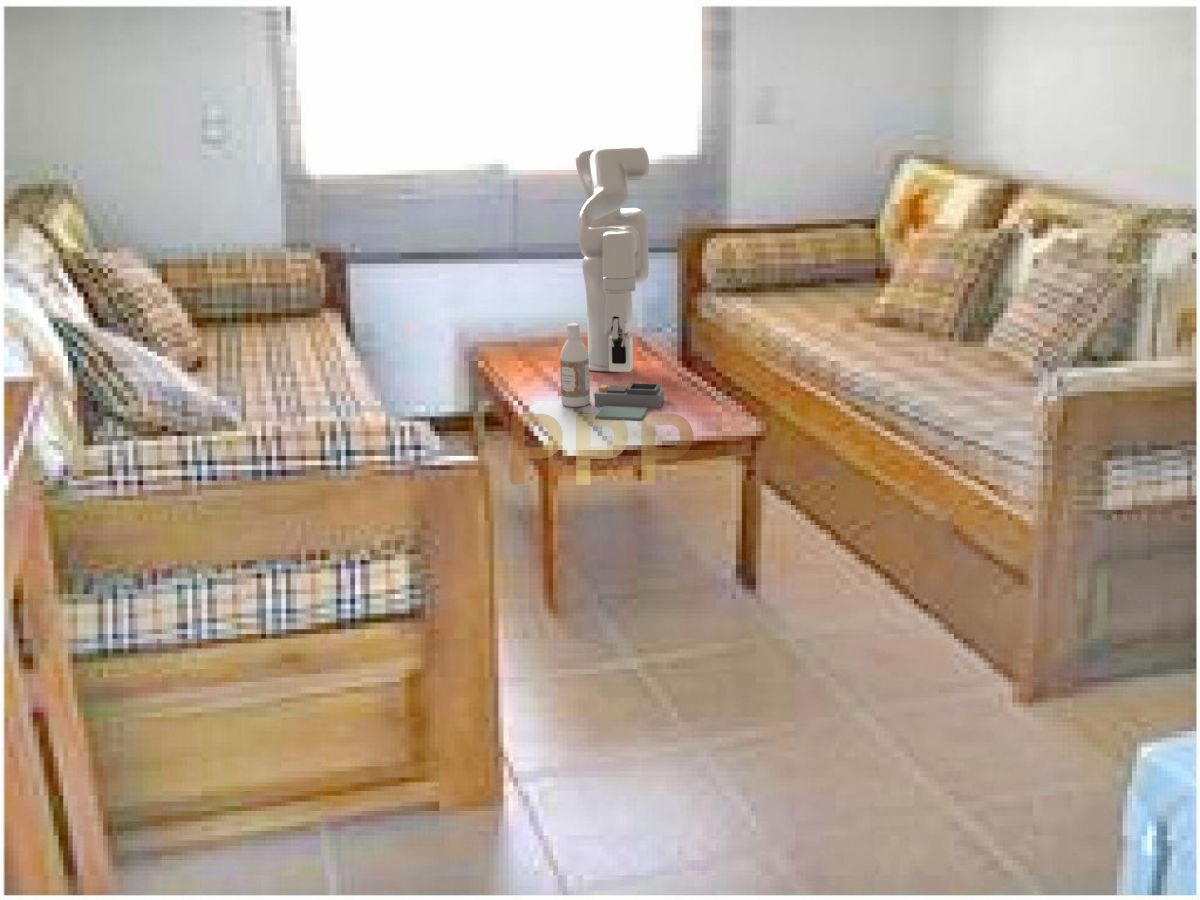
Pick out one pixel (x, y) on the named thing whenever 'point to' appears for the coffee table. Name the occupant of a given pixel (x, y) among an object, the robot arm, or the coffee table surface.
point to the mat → (622, 412)
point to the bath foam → (574, 370)
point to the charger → (629, 355)
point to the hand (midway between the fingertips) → (620, 360)
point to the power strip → (630, 395)
